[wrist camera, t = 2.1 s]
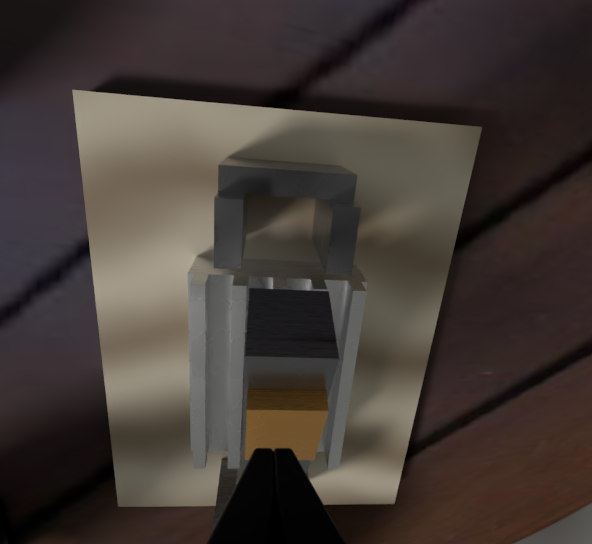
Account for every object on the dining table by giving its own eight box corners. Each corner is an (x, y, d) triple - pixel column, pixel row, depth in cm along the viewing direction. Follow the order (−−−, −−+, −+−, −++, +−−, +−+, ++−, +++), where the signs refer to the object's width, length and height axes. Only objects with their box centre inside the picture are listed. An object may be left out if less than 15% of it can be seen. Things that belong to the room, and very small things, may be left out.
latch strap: (284, 498, 23) (285, 562, 20) (242, 498, 22) (238, 564, 20) (328, 291, 12) (342, 378, 10) (249, 287, 12) (243, 376, 9)
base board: (387, 484, 28) (394, 503, 26) (126, 486, 26) (118, 506, 25) (466, 126, 19) (482, 127, 18) (87, 92, 18) (72, 89, 16)
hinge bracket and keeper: (303, 482, 25) (313, 581, 20) (221, 482, 24) (209, 584, 19) (340, 165, 18) (372, 183, 13) (227, 156, 18) (210, 171, 12)
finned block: (333, 420, 23) (344, 468, 20) (198, 418, 23) (186, 468, 19) (355, 264, 20) (373, 291, 17) (196, 255, 19) (182, 283, 16)
